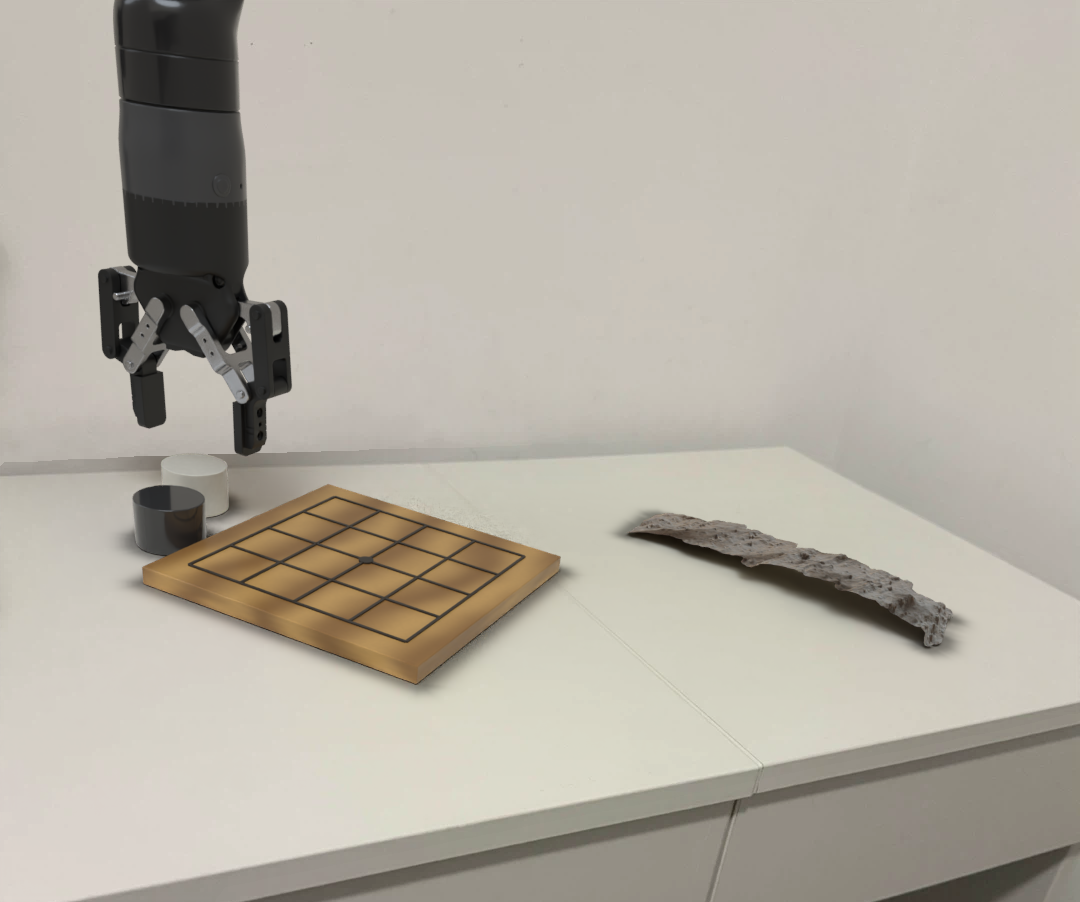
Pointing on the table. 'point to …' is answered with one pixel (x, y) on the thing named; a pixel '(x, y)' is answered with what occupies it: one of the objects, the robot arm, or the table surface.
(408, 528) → the board
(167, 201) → the robot arm
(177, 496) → the black stone
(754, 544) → the stone fragment
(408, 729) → the table surface
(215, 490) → the pale stone
